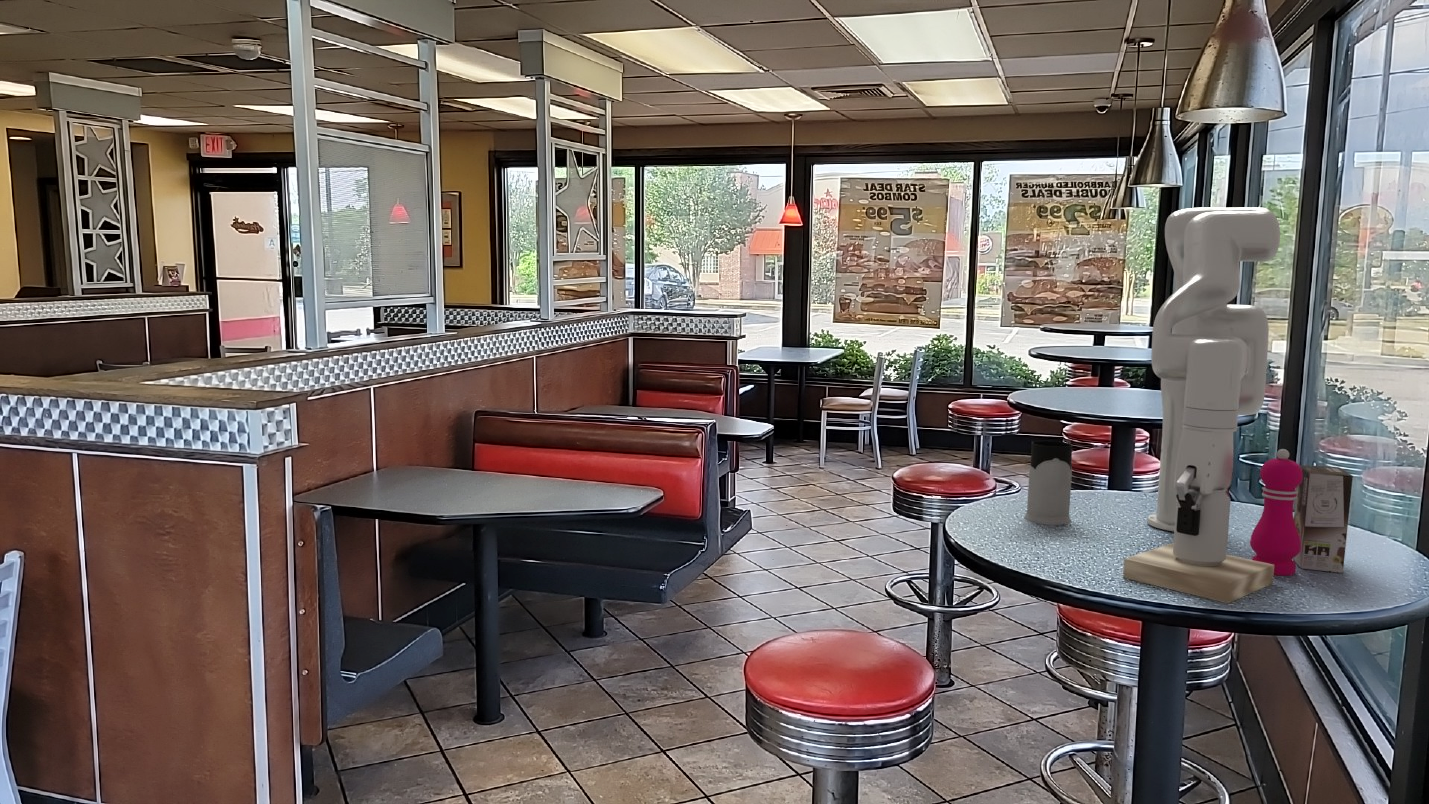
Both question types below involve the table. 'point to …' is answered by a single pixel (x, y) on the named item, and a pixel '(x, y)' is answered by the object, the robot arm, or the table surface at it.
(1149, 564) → the plinth
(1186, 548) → the can
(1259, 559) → the pepper mill
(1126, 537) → the table surface
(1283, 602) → the table surface
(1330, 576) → the table surface
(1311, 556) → the coffee box
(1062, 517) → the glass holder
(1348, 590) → the table surface
